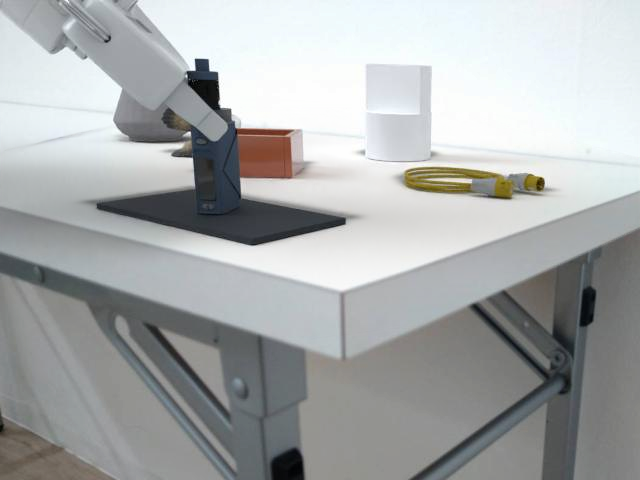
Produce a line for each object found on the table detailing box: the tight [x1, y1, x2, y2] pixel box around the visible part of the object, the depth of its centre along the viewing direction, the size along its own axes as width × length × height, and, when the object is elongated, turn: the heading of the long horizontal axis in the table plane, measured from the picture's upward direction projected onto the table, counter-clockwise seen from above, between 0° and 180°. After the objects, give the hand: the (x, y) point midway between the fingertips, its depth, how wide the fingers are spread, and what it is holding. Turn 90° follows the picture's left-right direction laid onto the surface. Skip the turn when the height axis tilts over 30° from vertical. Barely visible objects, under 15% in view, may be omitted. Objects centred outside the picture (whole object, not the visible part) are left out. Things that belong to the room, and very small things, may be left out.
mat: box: [95, 188, 347, 246], centre depth 63 cm, size 20×10×1 cm, turn 55°
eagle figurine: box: [161, 107, 242, 157], centre depth 99 cm, size 8×7×9 cm
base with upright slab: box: [364, 63, 433, 162], centre depth 100 cm, size 9×9×12 cm
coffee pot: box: [112, 88, 188, 142], centre depth 116 cm, size 21×12×15 cm, turn 18°
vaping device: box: [186, 58, 242, 214], centre depth 61 cm, size 3×5×12 cm, turn 172°
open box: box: [236, 127, 305, 179], centre depth 86 cm, size 10×9×4 cm
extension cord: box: [403, 166, 546, 199], centre depth 80 cm, size 12×16×2 cm
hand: (221, 130), depth 61 cm, fingers closed on vaping device, 5 cm apart
